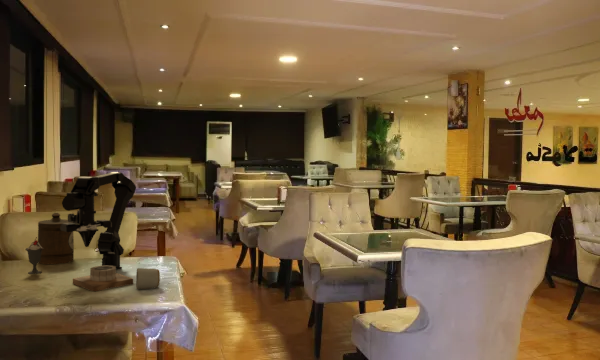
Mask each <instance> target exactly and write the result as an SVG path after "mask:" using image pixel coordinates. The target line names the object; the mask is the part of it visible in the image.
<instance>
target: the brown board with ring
mask: <svg viewBox="0 0 600 360" xmlns="http://www.w3.org/2000/svg"><path fill="white" fill-rule="evenodd" d="M98 267H110V269H108V270H96V268H98ZM89 272H90V273H89V274H90V275H85V276H84V275H83V276H79V277H73V278H72V284H74V285H76V286H77V287H81V288H84V289H86V290H89V291H91V292H93V293H94V292H98V291H105V290H108V289H113V288H119V287H123V286H128V285H133V284H134V278H133V277H130V276H127V275H123V274H121V273H118V272H117V269H116V267H115V266H108V265H105V266H102V265H97V266H93V267H91V268H90V270H89Z"/></svg>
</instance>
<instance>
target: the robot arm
mask: <svg viewBox="0 0 600 360" xmlns="http://www.w3.org/2000/svg"><path fill="white" fill-rule="evenodd" d="M108 184H109V185H110V184H111V186H112V187H113V188H112V189H114V197H115V201H114V205H113V208H112V212H111V215H110V219H96V220H95V214H96V213H97V211H96V210H95V197H98V196H99V194H98V193H97V192H96V191H97V190H98V189H100V187H101V186H105V185H108ZM136 190H137V185H136V184H135V182H134V181H132V179H130V178H129V177H127V176H125V175H124V174H123V172H121V171H112V172H109V173H105V174H101V175H97V176H79V177H77V179H76V181H75V183H74V185H73V187H72V189H71V190H70V192H66V196H64V197H63V199H62V201H61V205H62V208H63V209H64V210H66V211H68V212H69V211H75V210H77V211H76V214H74V213H68V214H67V220H68V222H73V223H62V225H61V226H60V229H61V231H65V232H72V231H73V232H78V233H79V235H80V237H81V240H82V242H83V244H84V247H85V248H88V247H90V244H91V241H92V240H93V238H94V236H95V234H96V233H97V232H99V229H98V228H99V227H103V228H104V229H106V230H105V231H103V232H102V231H101V232H100V233H99V236H98V239H97V247H98V248H97V250H98V252H99V255H102V258H101V266H105V265H108V266H115V267H116V270H118V269H119V270H121V269H122V268H123V267H122V266H121V256H122V255H123V254H124V250H125V249H124V247H123V246H122V245H121V244H120V243H121V237H120V233H119V232H120V229H121V225H122V222H123V219H124V215H125V212H126V209H127V205H128V202H129V201H130V200H131V199H132V198H133V197H134V195H135V193H136Z"/></svg>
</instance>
